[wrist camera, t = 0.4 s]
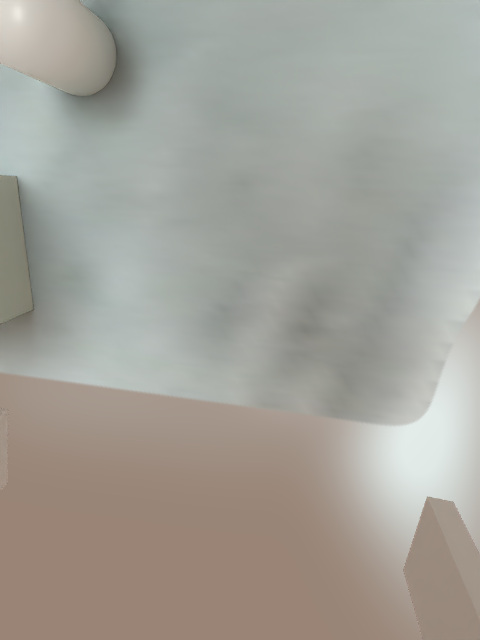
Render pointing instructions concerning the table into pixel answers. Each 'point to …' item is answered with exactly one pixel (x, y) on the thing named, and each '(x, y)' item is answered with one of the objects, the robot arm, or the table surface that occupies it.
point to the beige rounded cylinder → (57, 44)
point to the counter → (12, 254)
